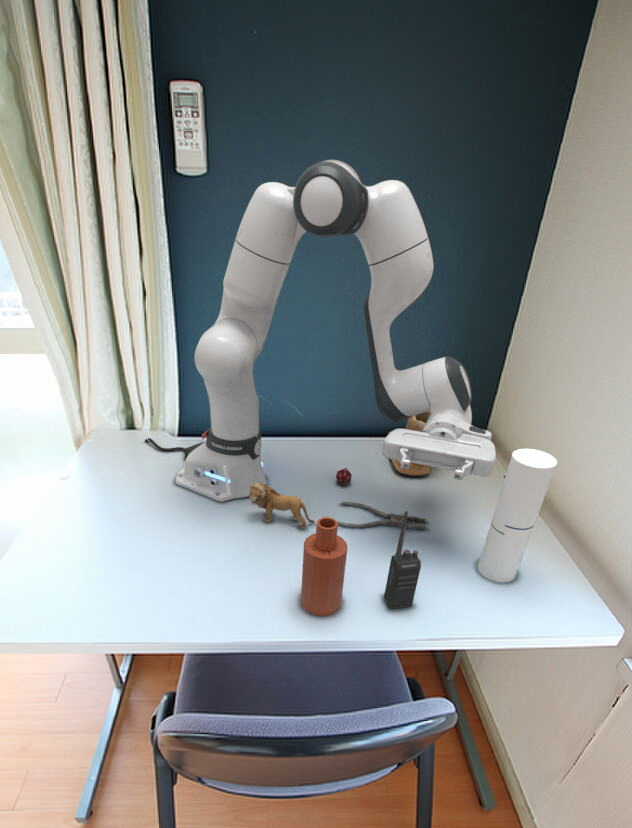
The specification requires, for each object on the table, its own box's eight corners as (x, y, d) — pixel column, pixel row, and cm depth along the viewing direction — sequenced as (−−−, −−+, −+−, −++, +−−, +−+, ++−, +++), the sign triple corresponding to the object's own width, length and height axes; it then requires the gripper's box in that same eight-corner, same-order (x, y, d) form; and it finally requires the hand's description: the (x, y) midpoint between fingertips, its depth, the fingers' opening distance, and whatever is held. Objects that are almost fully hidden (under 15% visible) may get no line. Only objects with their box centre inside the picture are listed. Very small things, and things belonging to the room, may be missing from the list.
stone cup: (441, 479, 131) (453, 425, 122) (394, 478, 131) (403, 424, 122) (427, 452, 143) (438, 401, 134) (385, 451, 143) (393, 400, 134)
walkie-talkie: (389, 610, 92) (406, 518, 80) (382, 597, 94) (398, 507, 83) (413, 607, 92) (434, 515, 81) (406, 594, 95) (425, 504, 84)
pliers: (334, 500, 120) (419, 502, 120) (333, 503, 120) (419, 505, 120) (337, 524, 112) (428, 526, 112) (336, 527, 112) (427, 529, 112)
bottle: (295, 609, 91) (298, 529, 81) (309, 584, 97) (314, 506, 87) (333, 620, 89) (341, 540, 79) (345, 594, 95) (354, 516, 85)
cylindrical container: (511, 587, 97) (553, 472, 83) (473, 573, 100) (508, 460, 86) (518, 567, 102) (560, 455, 88) (482, 554, 105) (517, 445, 91)
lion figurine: (246, 524, 113) (245, 489, 108) (251, 511, 117) (251, 476, 112) (313, 531, 111) (315, 495, 106) (315, 517, 115) (318, 483, 110)
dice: (354, 485, 127) (356, 471, 125) (338, 488, 126) (339, 474, 124) (347, 478, 130) (349, 464, 128) (331, 481, 129) (333, 467, 127)
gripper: (393, 415, 102) (375, 443, 92) (500, 433, 96) (495, 465, 85) (388, 444, 106) (371, 474, 95) (492, 463, 100) (486, 497, 89)
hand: (431, 470), depth 90 cm, fingers open, 8 cm apart
